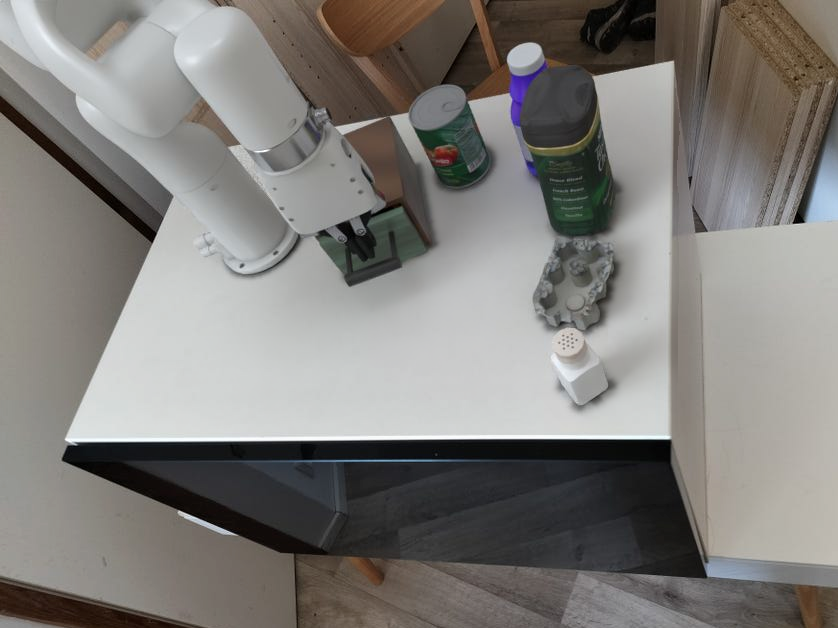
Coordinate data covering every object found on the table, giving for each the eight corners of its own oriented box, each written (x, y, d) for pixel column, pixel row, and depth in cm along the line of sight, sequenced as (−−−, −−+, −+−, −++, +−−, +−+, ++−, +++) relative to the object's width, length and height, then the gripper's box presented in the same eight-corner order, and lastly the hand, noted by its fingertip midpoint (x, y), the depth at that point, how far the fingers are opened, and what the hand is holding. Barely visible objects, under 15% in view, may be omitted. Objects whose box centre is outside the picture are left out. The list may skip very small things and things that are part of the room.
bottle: (587, 148, 90) (559, 33, 75) (578, 181, 87) (548, 69, 73) (535, 150, 92) (499, 39, 78) (525, 181, 90) (486, 74, 76)
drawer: (433, 285, 85) (409, 247, 79) (351, 315, 87) (321, 280, 80) (413, 177, 96) (390, 135, 90) (340, 205, 98) (313, 166, 92)
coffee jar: (610, 239, 81) (582, 120, 66) (547, 239, 84) (506, 125, 69) (622, 178, 85) (598, 52, 70) (561, 180, 88) (525, 60, 73)
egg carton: (595, 335, 75) (589, 316, 72) (533, 324, 79) (524, 305, 75) (622, 258, 79) (617, 236, 76) (562, 250, 82) (555, 229, 79)
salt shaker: (560, 383, 74) (539, 339, 66) (590, 362, 74) (573, 316, 66) (580, 409, 72) (561, 367, 64) (611, 388, 72) (596, 343, 64)
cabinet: (432, 245, 90) (403, 196, 82) (346, 276, 92) (310, 231, 84) (417, 166, 98) (389, 115, 90) (338, 197, 100) (305, 149, 92)
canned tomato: (432, 190, 95) (400, 131, 86) (445, 148, 98) (416, 87, 89) (484, 187, 92) (457, 126, 83) (496, 145, 95) (472, 81, 86)
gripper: (349, 85, 68) (421, 208, 82) (220, 141, 70) (312, 250, 85) (355, 132, 63) (429, 252, 78) (217, 190, 66) (314, 296, 81)
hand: (368, 251), depth 82 cm, fingers closed
